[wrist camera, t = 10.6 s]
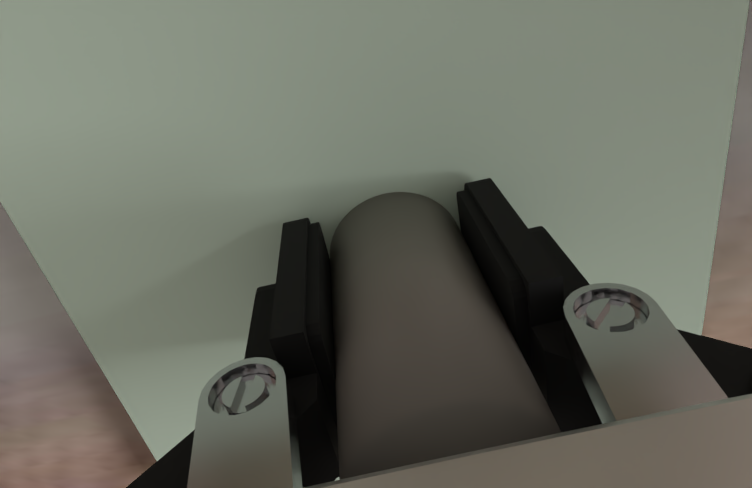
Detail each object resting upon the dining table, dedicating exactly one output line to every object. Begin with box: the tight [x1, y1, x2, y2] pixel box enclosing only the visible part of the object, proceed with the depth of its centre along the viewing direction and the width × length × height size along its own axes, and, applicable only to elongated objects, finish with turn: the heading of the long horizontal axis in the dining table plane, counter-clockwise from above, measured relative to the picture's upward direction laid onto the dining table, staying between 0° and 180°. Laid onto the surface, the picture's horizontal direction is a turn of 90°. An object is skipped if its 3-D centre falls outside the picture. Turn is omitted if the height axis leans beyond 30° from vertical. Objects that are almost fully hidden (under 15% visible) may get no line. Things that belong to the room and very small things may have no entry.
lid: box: [0, 0, 750, 481], centre depth 10 cm, size 15×15×7 cm
